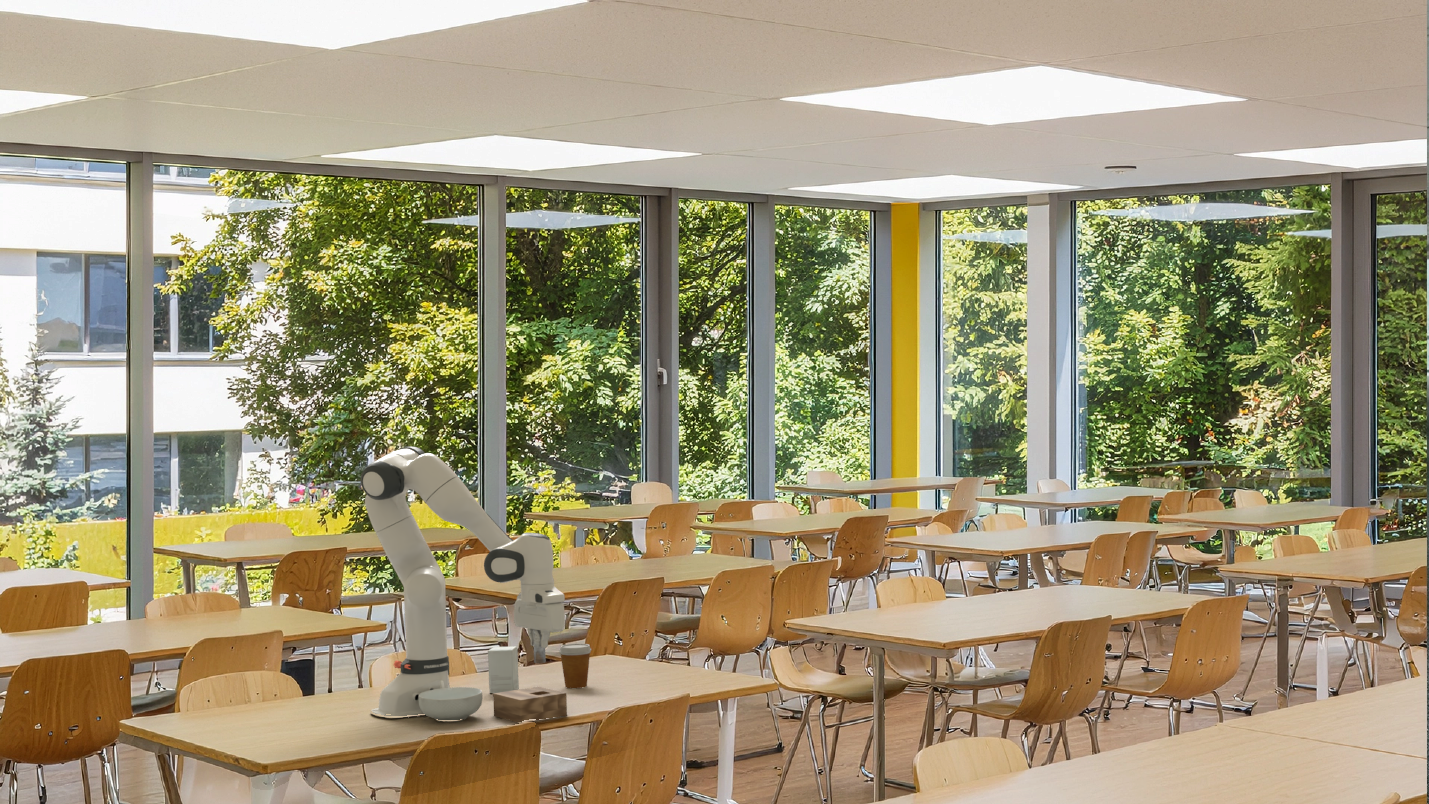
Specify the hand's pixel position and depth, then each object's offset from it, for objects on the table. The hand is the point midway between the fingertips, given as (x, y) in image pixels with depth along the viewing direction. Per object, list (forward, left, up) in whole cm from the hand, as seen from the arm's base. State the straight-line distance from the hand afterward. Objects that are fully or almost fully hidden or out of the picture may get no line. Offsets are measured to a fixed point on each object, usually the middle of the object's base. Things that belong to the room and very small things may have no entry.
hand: (539, 646), depth 392 cm
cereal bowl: (-19, +14, -19) cm, 30 cm away
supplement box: (+12, +40, -19) cm, 46 cm away
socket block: (-2, +2, -18) cm, 19 cm away
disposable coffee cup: (+31, +31, -19) cm, 48 cm away
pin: (0, 0, -4) cm, 4 cm away
